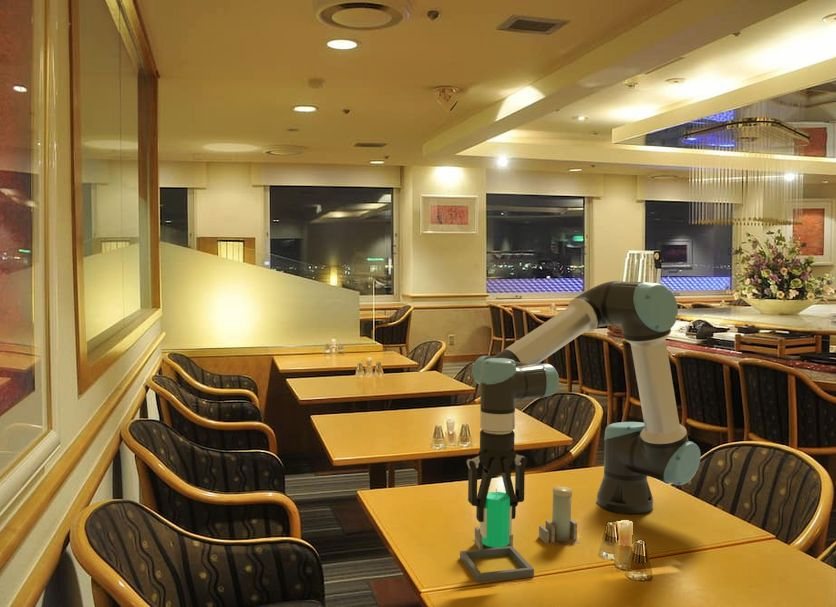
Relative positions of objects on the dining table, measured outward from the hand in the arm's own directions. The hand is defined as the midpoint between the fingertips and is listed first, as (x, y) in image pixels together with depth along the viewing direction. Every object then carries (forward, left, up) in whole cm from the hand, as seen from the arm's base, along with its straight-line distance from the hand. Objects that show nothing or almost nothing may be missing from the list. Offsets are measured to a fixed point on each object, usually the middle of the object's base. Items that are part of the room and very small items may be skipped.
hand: (495, 534), depth 158 cm
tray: (0, 0, -9) cm, 9 cm away
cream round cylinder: (-21, -12, -7) cm, 25 cm away
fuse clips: (-12, -10, -9) cm, 18 cm away
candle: (0, 0, -2) cm, 2 cm away
